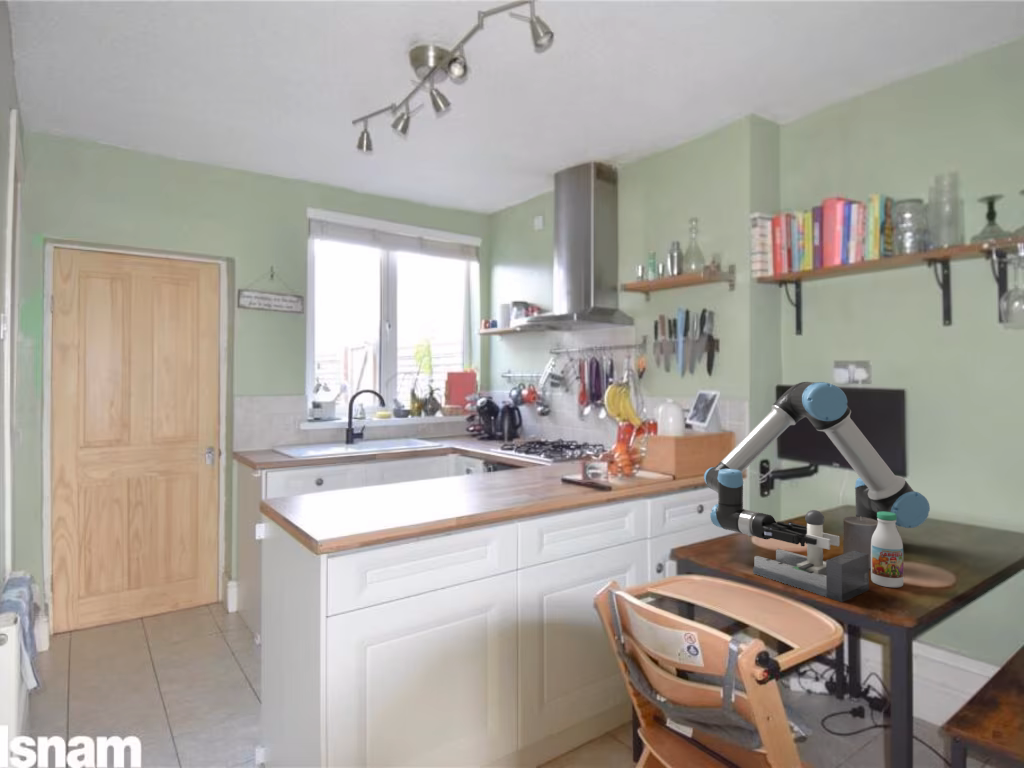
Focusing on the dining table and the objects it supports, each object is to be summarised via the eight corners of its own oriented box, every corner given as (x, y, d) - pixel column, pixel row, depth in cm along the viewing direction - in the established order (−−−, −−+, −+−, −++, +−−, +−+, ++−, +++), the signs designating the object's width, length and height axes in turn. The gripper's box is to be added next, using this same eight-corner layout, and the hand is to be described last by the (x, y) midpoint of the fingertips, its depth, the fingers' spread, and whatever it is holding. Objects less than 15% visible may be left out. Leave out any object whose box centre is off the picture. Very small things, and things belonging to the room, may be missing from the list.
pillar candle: (837, 559, 184) (836, 512, 184) (868, 558, 184) (868, 511, 183) (854, 570, 174) (853, 521, 174) (887, 569, 174) (887, 520, 174)
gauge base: (753, 573, 173) (752, 540, 173) (780, 564, 180) (780, 532, 180) (841, 602, 151) (841, 564, 151) (868, 590, 159) (868, 553, 158)
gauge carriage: (790, 577, 163) (790, 511, 162) (812, 569, 169) (812, 506, 168) (811, 584, 158) (811, 516, 157) (833, 575, 164) (833, 510, 163)
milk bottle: (864, 579, 167) (864, 510, 166) (889, 577, 167) (889, 509, 167) (884, 589, 159) (883, 517, 159) (910, 587, 160) (910, 515, 159)
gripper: (774, 532, 184) (850, 550, 164) (740, 541, 174) (817, 562, 155) (773, 508, 183) (850, 524, 164) (740, 517, 174) (816, 534, 154)
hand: (833, 542), depth 159 cm, fingers closed on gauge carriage, 4 cm apart
